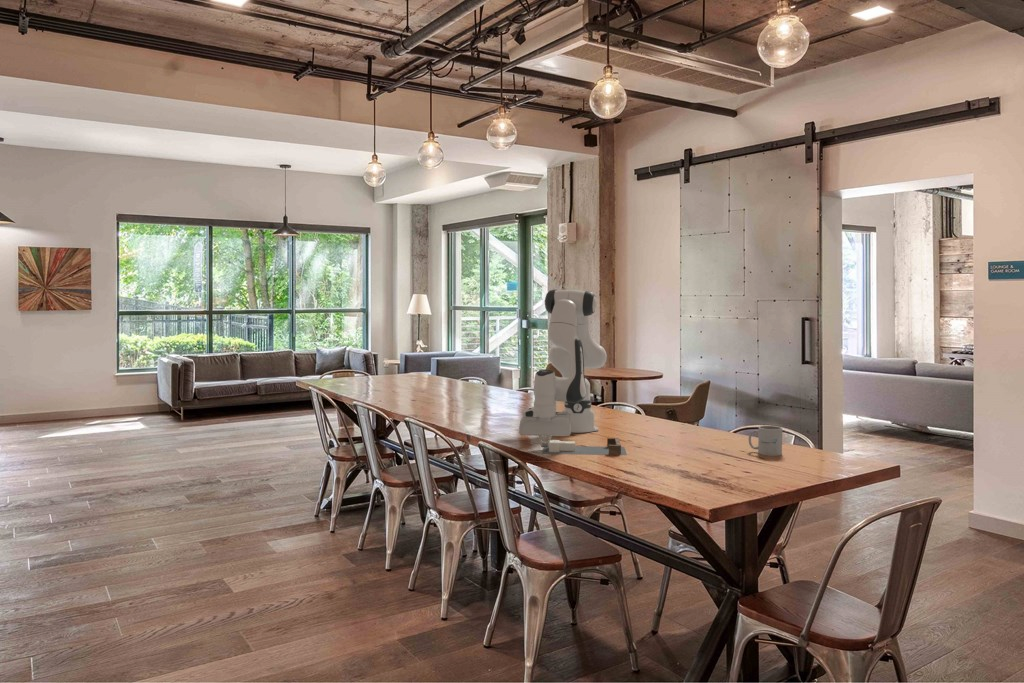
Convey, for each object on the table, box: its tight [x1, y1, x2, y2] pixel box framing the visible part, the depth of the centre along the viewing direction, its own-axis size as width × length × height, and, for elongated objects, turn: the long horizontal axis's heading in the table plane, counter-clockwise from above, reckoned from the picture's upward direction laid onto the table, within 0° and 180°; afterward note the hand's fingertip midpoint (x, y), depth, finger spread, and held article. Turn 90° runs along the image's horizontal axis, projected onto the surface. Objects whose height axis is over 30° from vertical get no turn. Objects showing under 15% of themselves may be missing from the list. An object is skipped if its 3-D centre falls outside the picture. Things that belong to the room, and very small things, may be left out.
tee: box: [549, 439, 576, 452], centre depth 292 cm, size 9×10×3 cm
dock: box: [606, 437, 622, 456], centre depth 290 cm, size 16×4×4 cm, turn 175°
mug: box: [748, 425, 783, 457], centre depth 288 cm, size 12×9×10 cm
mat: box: [541, 445, 628, 456], centre depth 292 cm, size 16×32×1 cm, turn 85°
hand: (544, 446), depth 293 cm, fingers closed
